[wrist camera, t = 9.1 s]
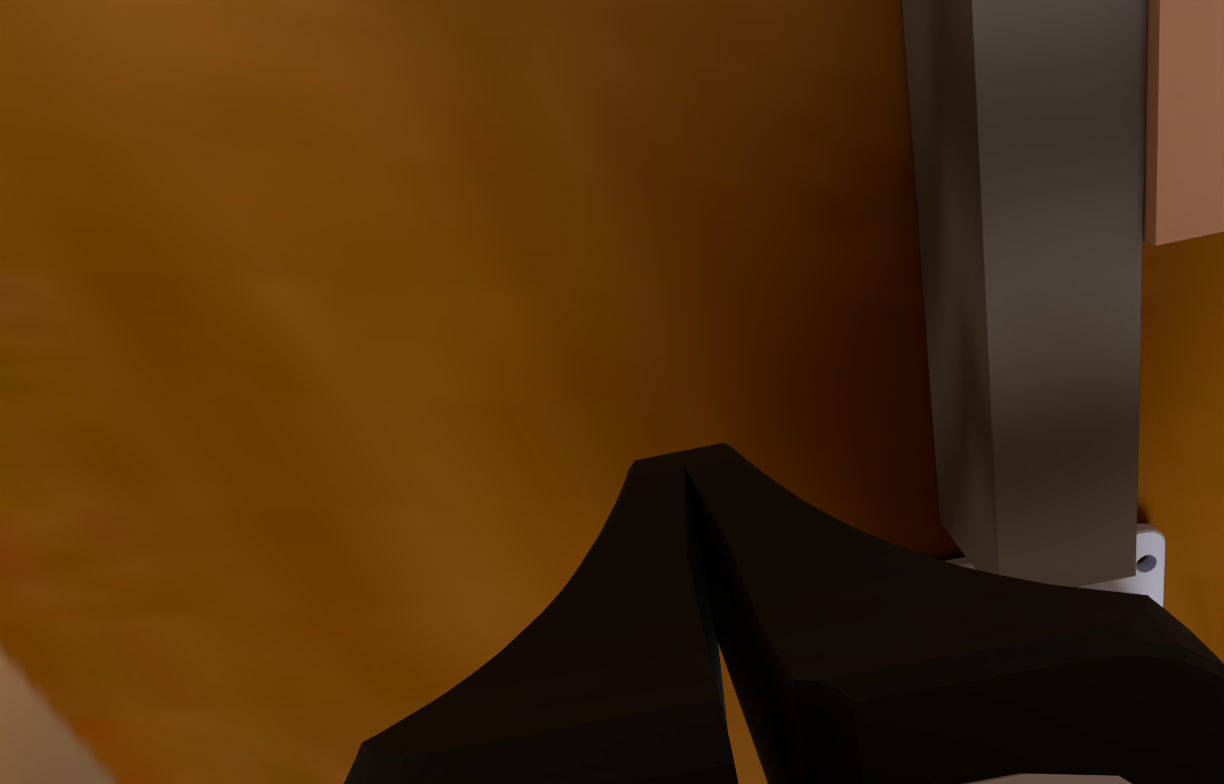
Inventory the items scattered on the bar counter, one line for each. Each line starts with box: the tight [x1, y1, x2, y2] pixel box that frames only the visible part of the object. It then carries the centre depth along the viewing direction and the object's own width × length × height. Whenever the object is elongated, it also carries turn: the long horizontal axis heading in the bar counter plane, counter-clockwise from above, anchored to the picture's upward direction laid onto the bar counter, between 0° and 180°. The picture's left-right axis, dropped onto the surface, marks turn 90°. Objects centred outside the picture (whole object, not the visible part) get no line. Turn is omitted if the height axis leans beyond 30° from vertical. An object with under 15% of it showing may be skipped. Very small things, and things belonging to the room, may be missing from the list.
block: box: [1142, 0, 1224, 246], centre depth 17 cm, size 5×5×4 cm
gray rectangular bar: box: [902, 0, 1147, 587], centre depth 18 cm, size 20×3×4 cm, turn 11°
